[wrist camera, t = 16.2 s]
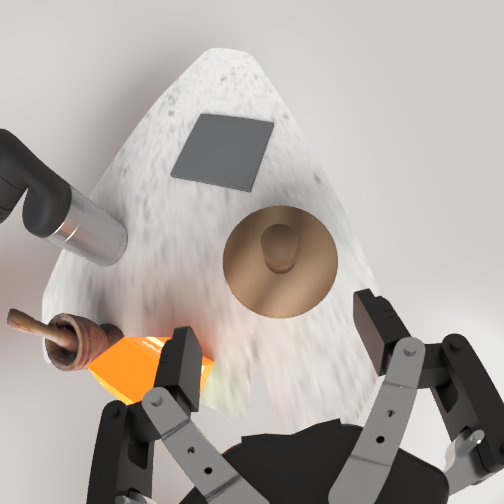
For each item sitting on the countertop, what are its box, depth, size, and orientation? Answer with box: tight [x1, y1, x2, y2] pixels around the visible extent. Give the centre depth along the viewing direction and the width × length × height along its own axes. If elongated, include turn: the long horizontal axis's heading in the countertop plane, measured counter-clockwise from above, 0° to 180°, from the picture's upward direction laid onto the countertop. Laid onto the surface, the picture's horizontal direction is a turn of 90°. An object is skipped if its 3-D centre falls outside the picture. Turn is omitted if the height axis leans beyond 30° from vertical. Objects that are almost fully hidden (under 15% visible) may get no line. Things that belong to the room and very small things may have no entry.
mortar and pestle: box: [7, 309, 124, 371], centre depth 35 cm, size 12×9×20 cm
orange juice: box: [87, 337, 215, 405], centre depth 33 cm, size 8×9×20 cm
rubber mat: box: [170, 114, 274, 192], centre depth 52 cm, size 16×16×1 cm
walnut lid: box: [223, 206, 338, 318], centre depth 31 cm, size 14×14×8 cm
